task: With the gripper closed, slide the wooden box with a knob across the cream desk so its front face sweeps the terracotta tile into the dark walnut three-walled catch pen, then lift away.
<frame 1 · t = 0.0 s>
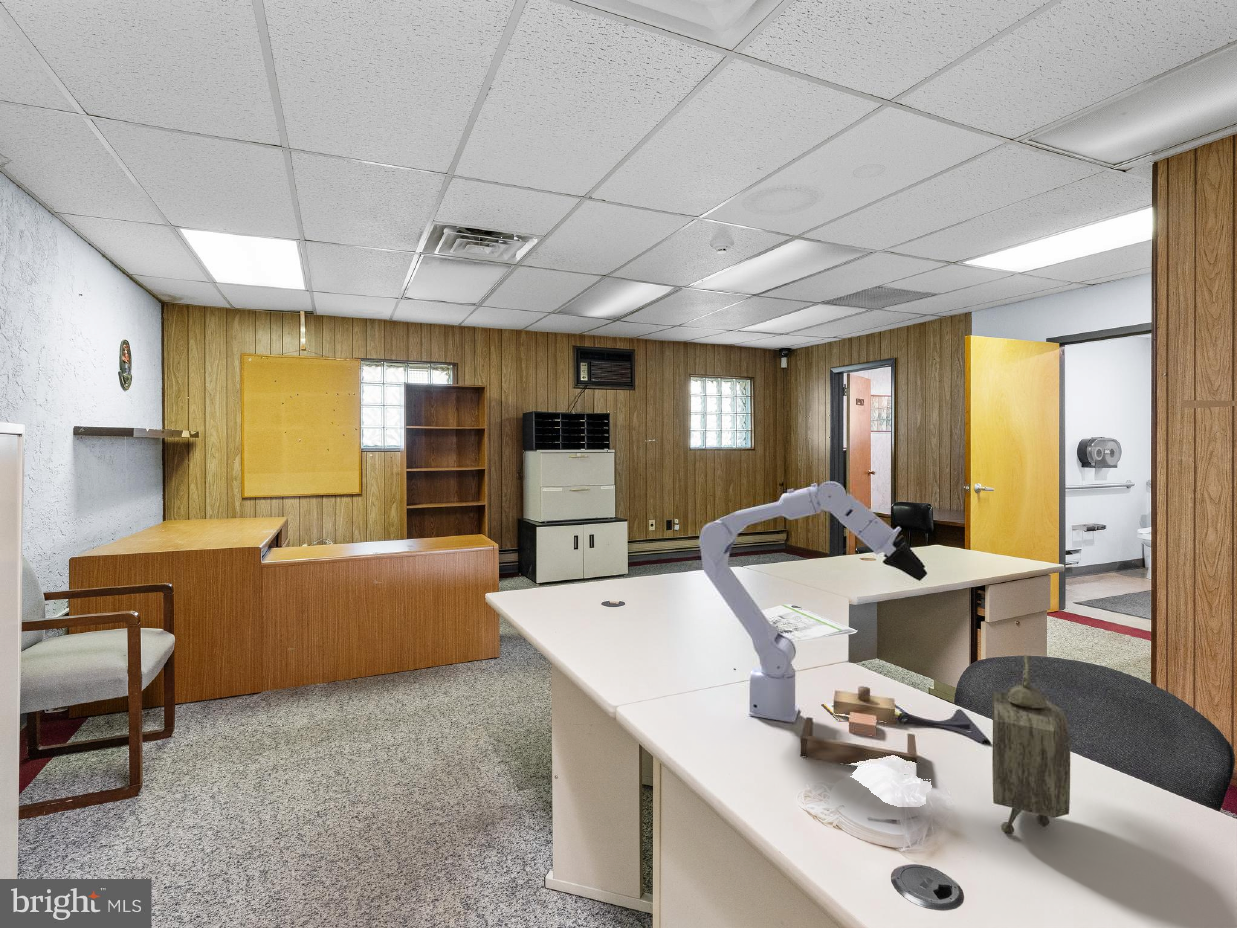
hand: (922, 573, 122), 32 cm above the table, tool tilted 50°, fingers open, 7 cm apart
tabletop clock: (1027, 822, 94), on the table
catch pen: (857, 753, 115), on the table
tile: (862, 730, 126), on the table
bracket: (937, 729, 127), on the table
wooden box with knob: (863, 715, 133), on the table
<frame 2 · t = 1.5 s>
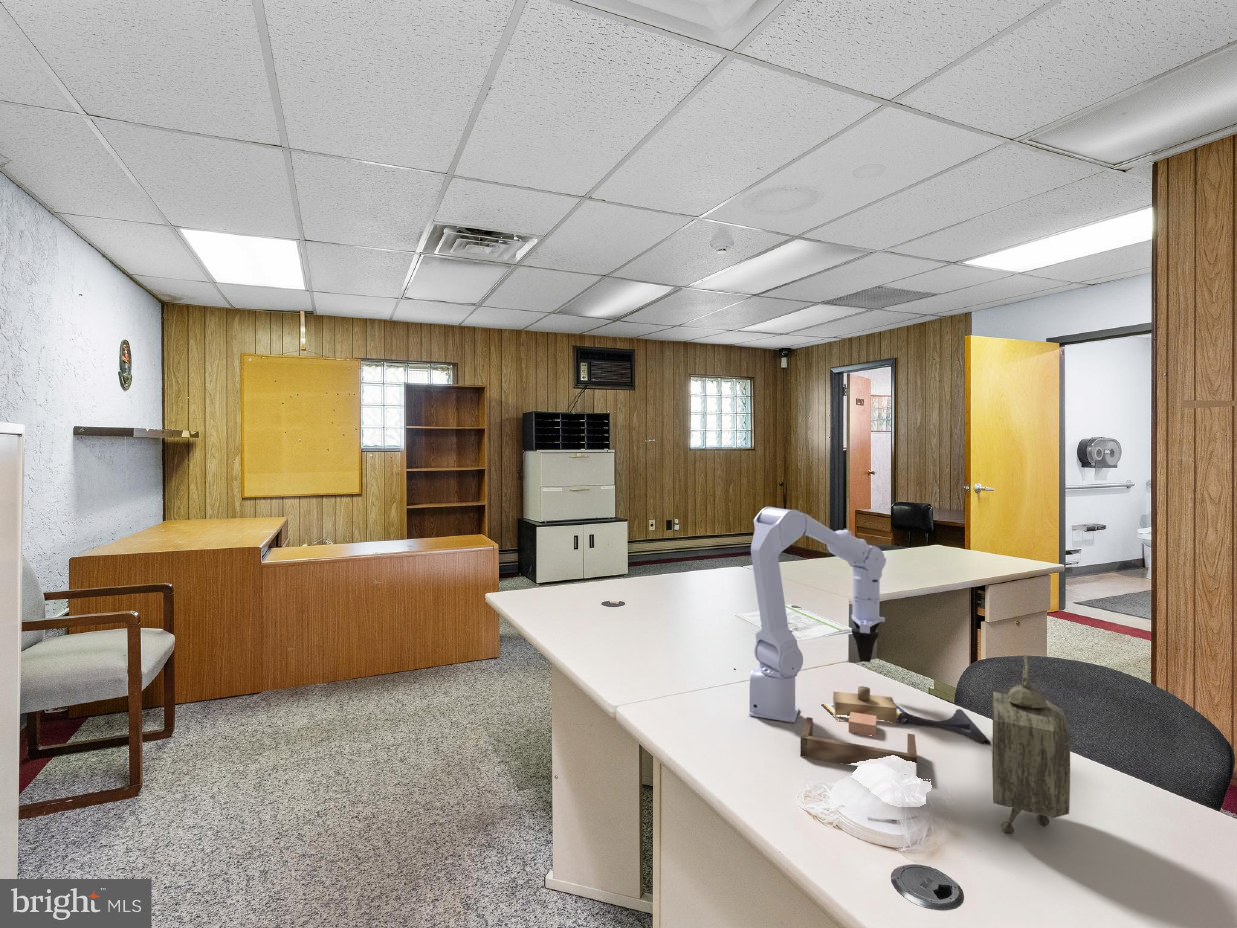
hand: (865, 656, 142), 9 cm above the table, tool pointing down, fingers open, 7 cm apart
nothing on the table moved.
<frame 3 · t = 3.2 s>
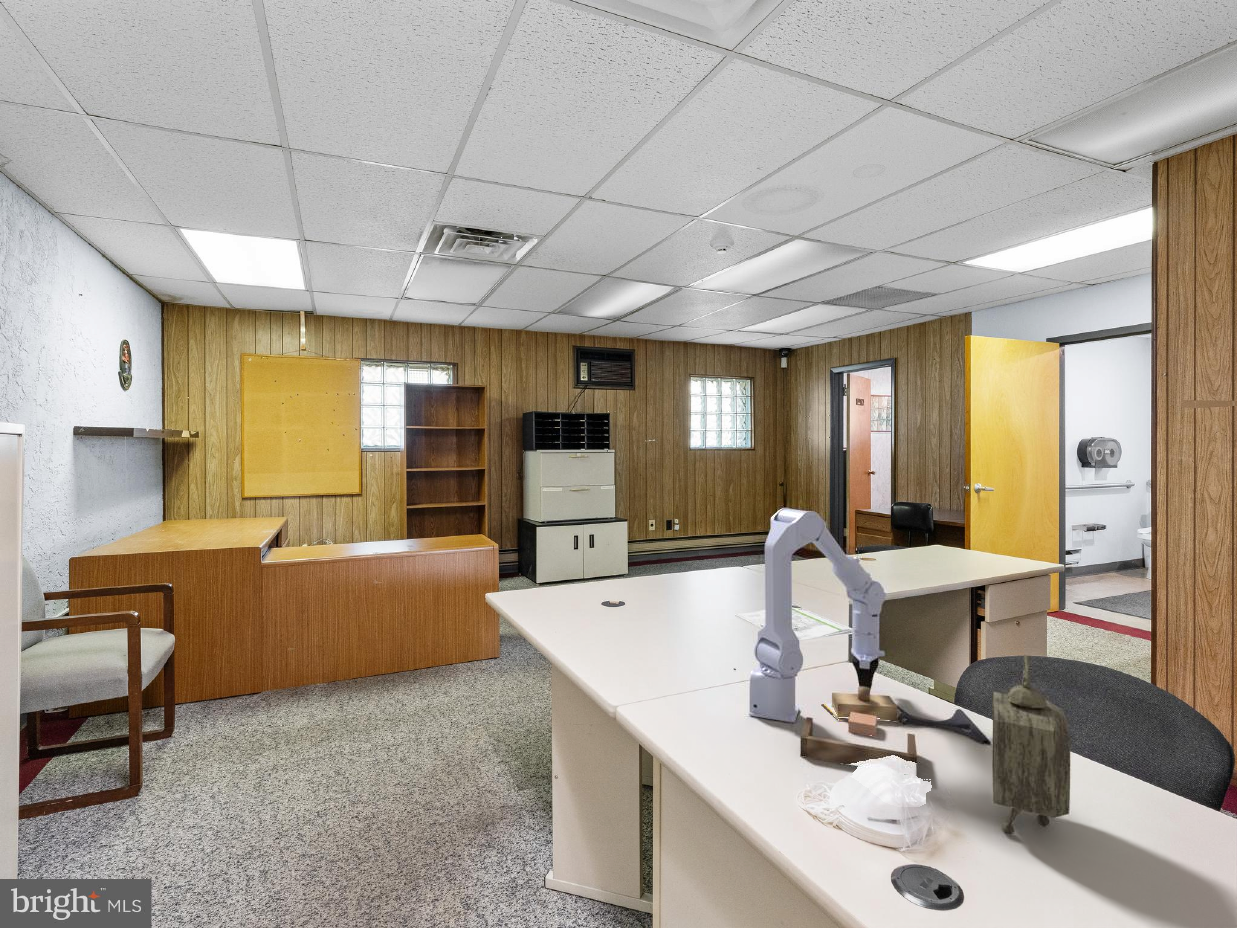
hand: (865, 690, 142), 2 cm above the table, tool pointing down, fingers closed
nothing on the table moved.
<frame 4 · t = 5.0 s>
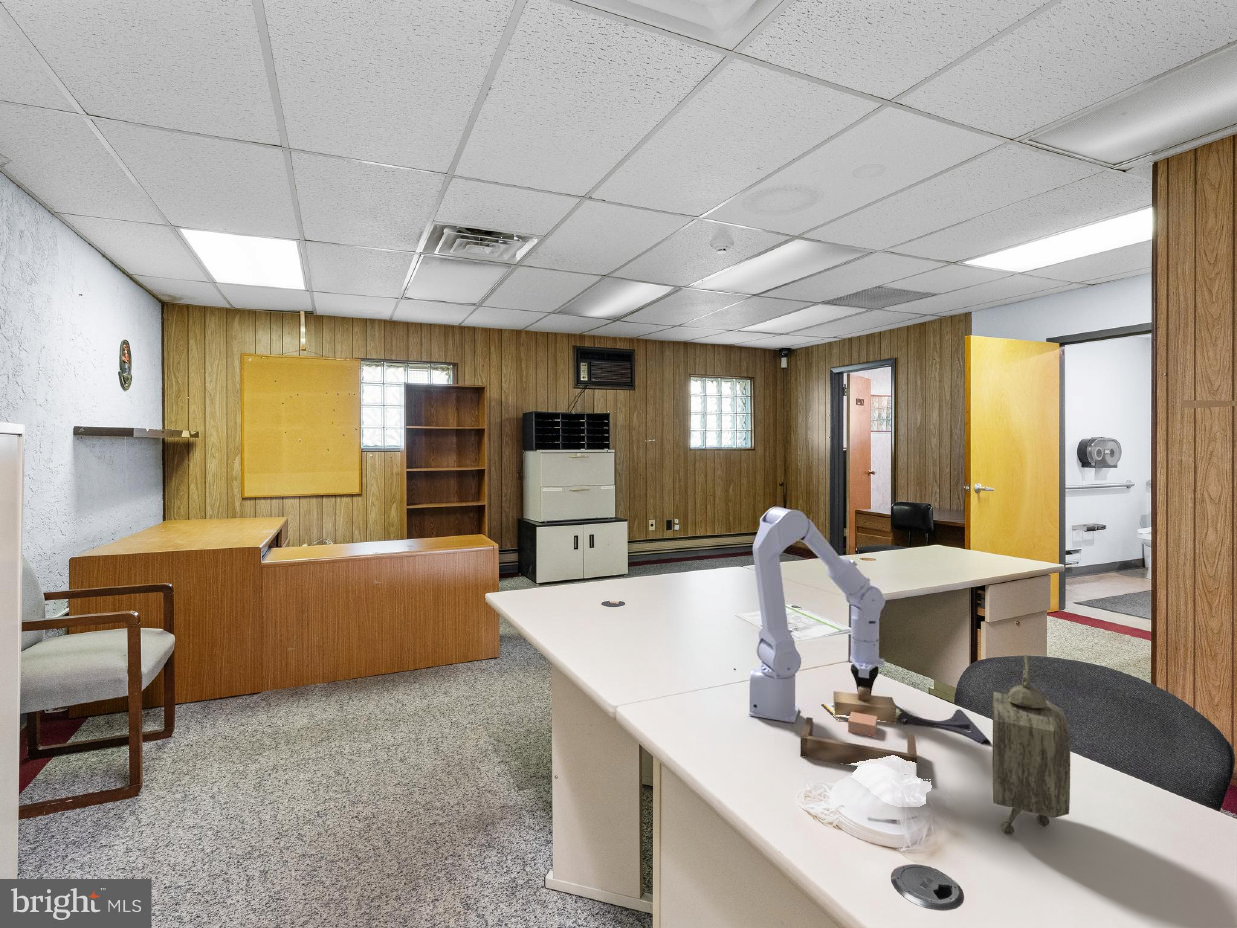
hand: (864, 699, 137), 2 cm above the table, tool pointing down, fingers closed
wooden box with knob: (863, 715, 133), on the table, touching gripper
everything else where it was.
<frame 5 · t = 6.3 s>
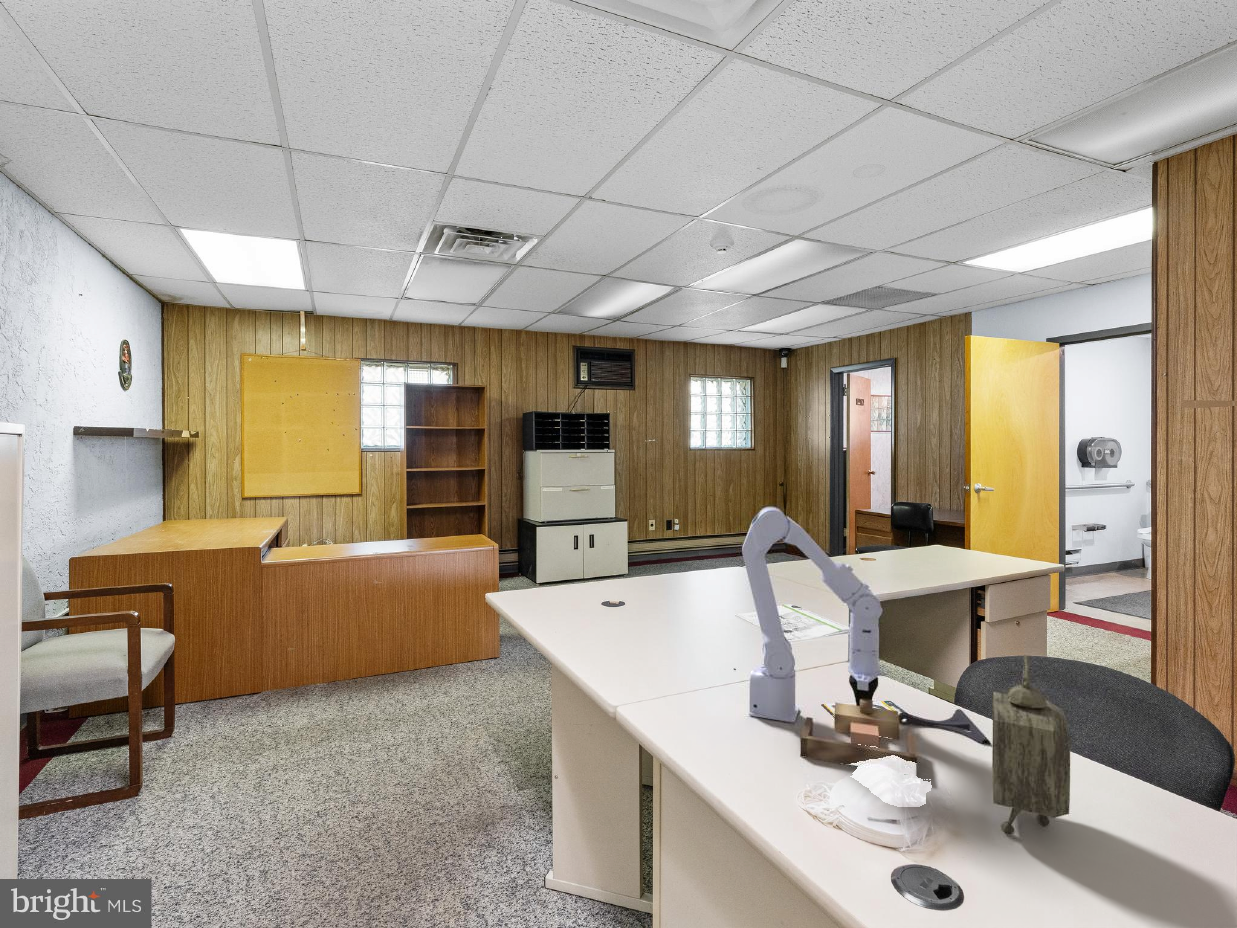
hand: (863, 712, 130), 2 cm above the table, tool pointing down, fingers closed
tile: (864, 741, 121), on the table, touching wooden box with knob
wooden box with knob: (866, 729, 126), on the table, touching gripper, tile
everything else where it was.
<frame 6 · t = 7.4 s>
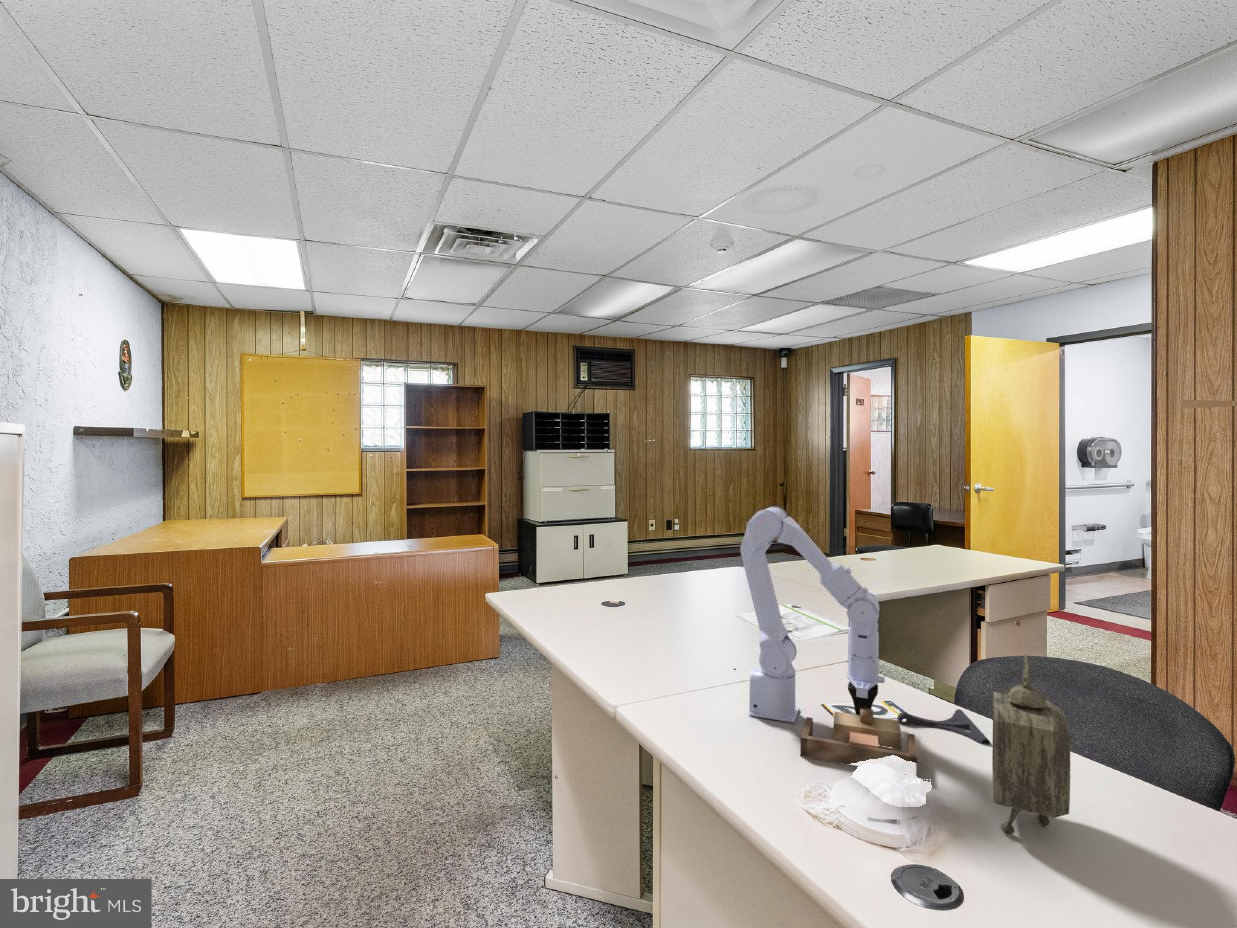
hand: (862, 720, 126), 2 cm above the table, tool pointing down, fingers closed
tile: (863, 751, 117), on the table
wooden box with knob: (866, 739, 122), on the table
everything else where it was.
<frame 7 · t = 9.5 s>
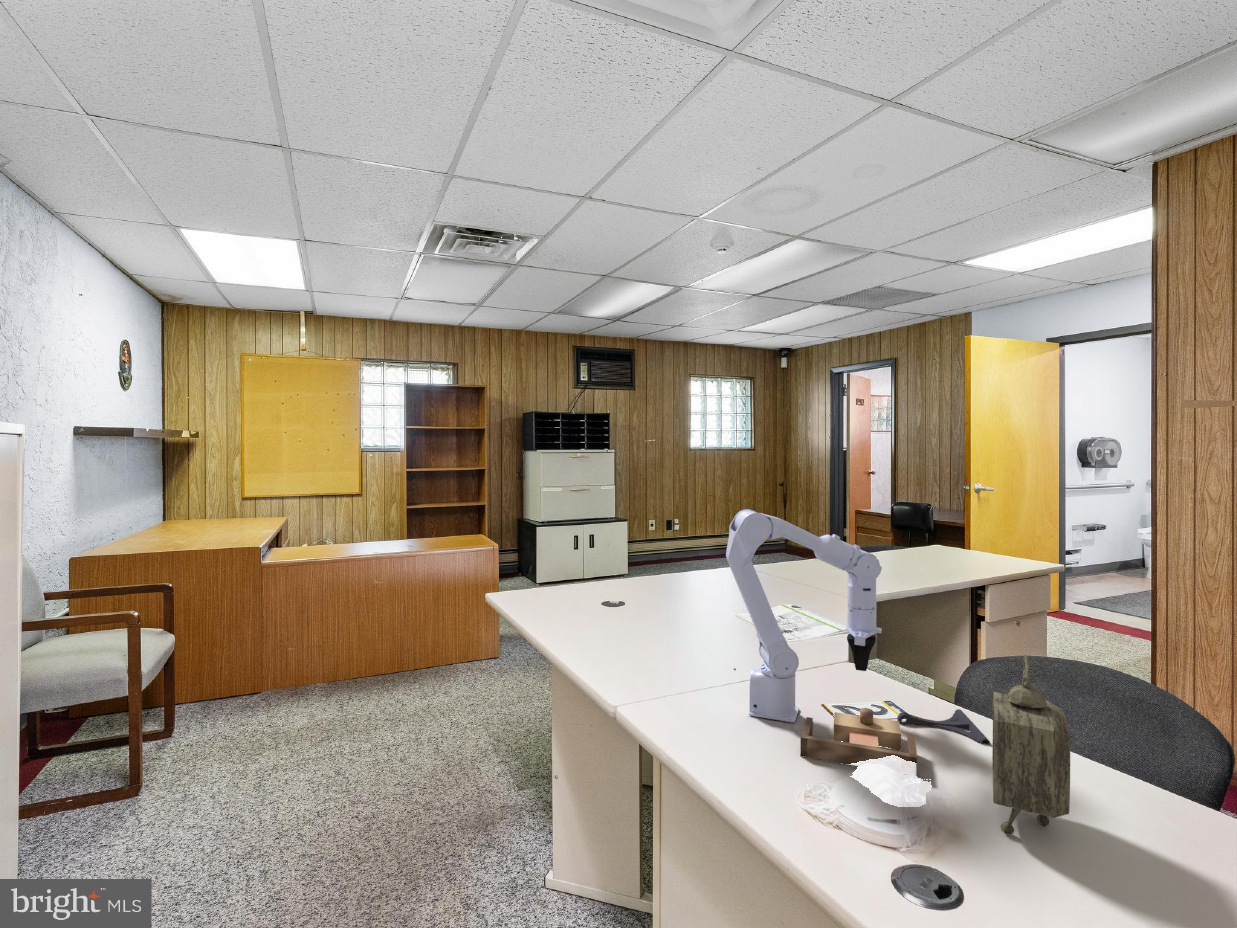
hand: (861, 669, 133), 9 cm above the table, tool pointing down, fingers closed
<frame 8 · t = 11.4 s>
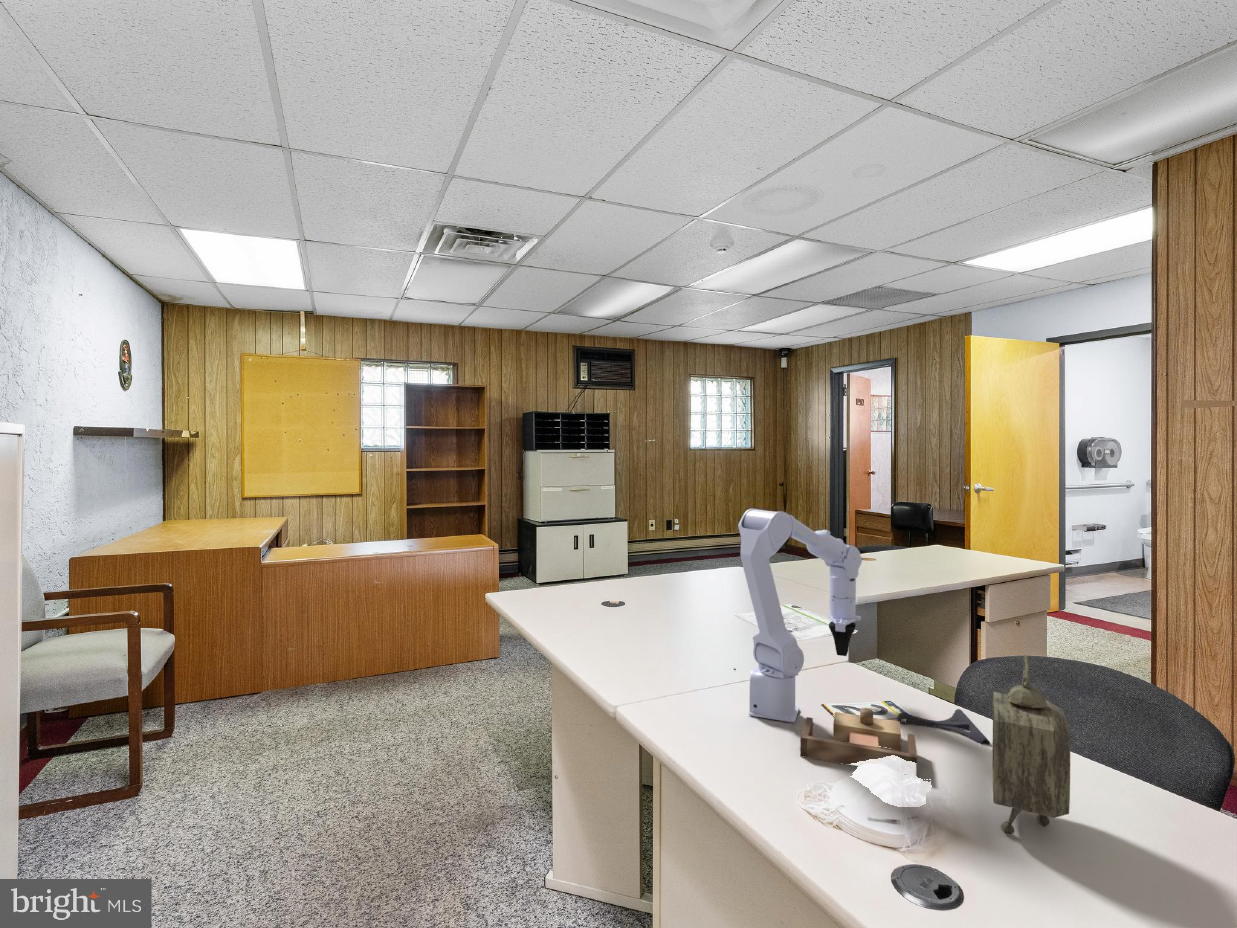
hand: (842, 654, 143), 9 cm above the table, tool pointing down, fingers closed
nothing on the table moved.
at the end: tile inside the target area (2.5 cm from its centre), on the table; wooden box with knob moved 12.2 cm from its start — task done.
